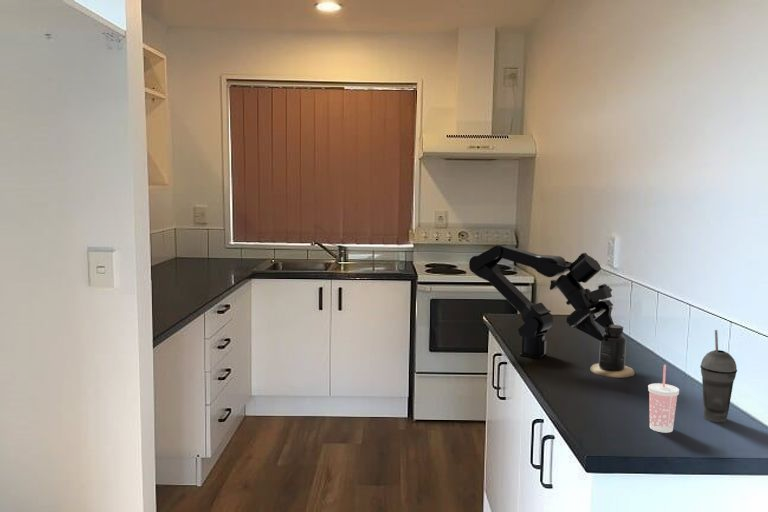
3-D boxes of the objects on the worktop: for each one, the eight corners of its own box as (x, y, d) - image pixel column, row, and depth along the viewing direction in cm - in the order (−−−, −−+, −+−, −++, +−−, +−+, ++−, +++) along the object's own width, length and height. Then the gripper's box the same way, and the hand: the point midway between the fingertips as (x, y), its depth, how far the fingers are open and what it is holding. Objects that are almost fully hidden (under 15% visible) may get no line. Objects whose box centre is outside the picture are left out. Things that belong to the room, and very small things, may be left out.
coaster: (586, 373, 174) (586, 370, 174) (594, 363, 184) (594, 360, 184) (631, 380, 169) (631, 377, 169) (637, 369, 179) (637, 366, 179)
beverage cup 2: (719, 427, 137) (726, 336, 134) (689, 416, 143) (695, 329, 141) (740, 421, 140) (747, 332, 138) (710, 410, 146) (716, 326, 144)
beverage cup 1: (666, 422, 139) (670, 360, 137) (682, 433, 133) (687, 368, 131) (640, 423, 138) (643, 361, 137) (655, 434, 132) (659, 369, 131)
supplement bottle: (628, 372, 173) (631, 329, 172) (604, 372, 173) (606, 329, 171) (618, 364, 180) (620, 323, 179) (594, 364, 180) (597, 323, 178)
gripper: (579, 279, 171) (617, 326, 165) (608, 272, 184) (644, 315, 178) (551, 303, 177) (586, 349, 171) (581, 294, 191) (614, 337, 185)
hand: (609, 337), depth 176 cm, fingers open, 9 cm apart
